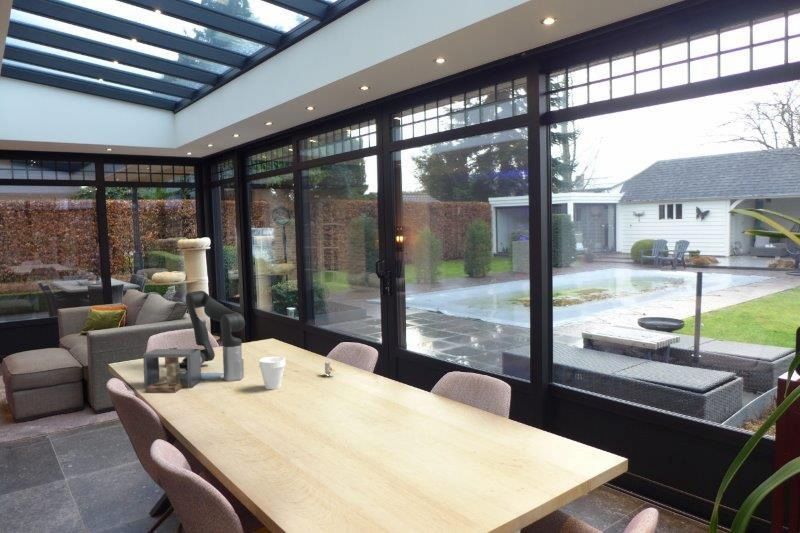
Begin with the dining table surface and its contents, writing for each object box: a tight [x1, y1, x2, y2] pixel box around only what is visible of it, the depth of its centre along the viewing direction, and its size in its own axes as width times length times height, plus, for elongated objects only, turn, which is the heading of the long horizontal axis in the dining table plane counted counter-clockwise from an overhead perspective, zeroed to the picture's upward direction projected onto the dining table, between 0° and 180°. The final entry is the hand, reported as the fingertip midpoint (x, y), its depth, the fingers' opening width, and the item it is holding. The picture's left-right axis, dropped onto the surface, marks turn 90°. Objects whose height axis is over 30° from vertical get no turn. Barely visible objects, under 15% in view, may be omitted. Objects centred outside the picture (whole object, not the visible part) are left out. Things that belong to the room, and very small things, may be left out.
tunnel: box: [142, 348, 202, 389], centre depth 276 cm, size 23×12×16 cm, turn 87°
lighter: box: [164, 347, 180, 368], centre depth 316 cm, size 8×3×10 cm, turn 143°
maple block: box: [165, 361, 181, 383], centre depth 276 cm, size 4×4×11 cm
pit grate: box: [145, 382, 183, 394], centre depth 266 cm, size 14×7×2 cm, turn 87°
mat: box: [165, 372, 224, 381], centre depth 291 cm, size 26×12×1 cm, turn 87°
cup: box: [258, 356, 286, 390], centre depth 268 cm, size 12×12×14 cm
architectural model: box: [324, 361, 337, 376], centre depth 289 cm, size 3×7×7 cm, turn 27°
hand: (178, 369), depth 282 cm, fingers open, 8 cm apart
